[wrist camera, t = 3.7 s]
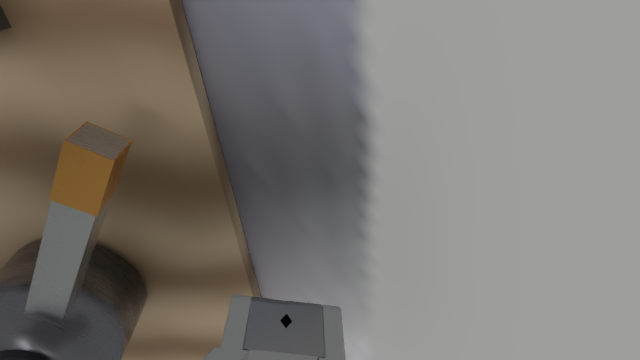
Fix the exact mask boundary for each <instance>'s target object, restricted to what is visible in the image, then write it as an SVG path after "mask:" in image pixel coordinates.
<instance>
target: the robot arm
mask: <svg viewBox="0 0 640 360" xmlns="http://www.w3.org/2000/svg"><path fill="white" fill-rule="evenodd" d="M250 301H251V303H250ZM249 308H250V309H249ZM248 314H249V315H248ZM202 360H345V349H344V338H343V327H342V317H341V309H340V307H337V306H329V305H321V304H313V303H304V302H294V301H281V300H274V299H267V298H260V297H254V296H252V297H251V296H245V295H238V294H233V295H232V298H231V301H230V306H229V310H228V315H227V319H226V324H225V329H224V333H223V338H222V342H221V347H214V348H213V349H212V350H211V351H210V352H209V353H208V354H207V355H206V356H205V357H204V358H203V359H202Z"/></svg>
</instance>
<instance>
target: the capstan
mask: <svg viewBox="0 0 640 360" xmlns="http://www.w3.org/2000/svg"><path fill="white" fill-rule="evenodd" d="M131 143H132V140H130V139H128V138H126V137H123V136H121V135H118V134H116V133H114V132H111V131H109V130H106V129H104V128H102V127H99V126H97V125H94V124H92V123H90V122H85V123H84V124H83V125H82V126H81V127H79V128H78V129H77V130H76V131H75V132H73V133H72V134H71V135H70V136H68V137H67V138H66V139H65V140H64V141H63V144H62V148H61V152H60V156H59V160H58V164H57V169H56V173H55V177H54V181H53V185H52V190H51V194H50V198H49V200H51V204H50V208H49V212H48V216H47V220H46V224H45V229H44V233H43V237H42V239H40V240H36V241H33V242H30V243H28V244H26V245H24V246H23V247H21V248H20V249H19V250H17V251H16V253H15V254H14V255H13V256H12V257H11V258H10V259H9V260H8V261H7V262H6V263H5V264H4V266H3V267H2V268H1V269H0V360H122V357H123V355H124V353H125V350H126V348H127V346H128V343H129V341H130V339H131V336H132V334H133V332H134V329H135V327H136V325H137V322H138V320H139V318H140V315H141V313H142V311H143V308H144V306H145V303H146V298H147V292H146V287H145V284H144V282H143V279H142V278H141V276H140V274H139V273H138V272H137V270H136V269H135V268H134V267H133V266H132V265H131V264H130V263H129V262H128V261H126V260H125V259H124V258H122V257H121V256H120V255H118V254H116V253H115V252H113V251H111V250H109V249H107V248H105V247H103V246H100V245H98V244H96V242H97V239H98V236H99V233H100V230H101V227H102V224H103V221H104V218H105V215H106V212H107V209H108V206H109V203H110V200H111V197H112V196H113V194H114V193H115V191H116V188H117V185H118V182H119V179H120V176H121V173H122V170H123V167H124V164H125V161H126V158H127V155H128V152H129V149H130V146H131Z"/></svg>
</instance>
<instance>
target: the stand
mask: <svg viewBox="0 0 640 360" xmlns="http://www.w3.org/2000/svg"><path fill="white" fill-rule="evenodd" d="M85 122H90V123H92V124H94V125H97V126H99V127H102V128H104V129H106V130H109V131H111V132H114V133H116V134H118V135H121V136H123V137H126V138H128V139H130V140H132V143H131V146H130V149H129V152H128V155H127V158H126V161H125V164H124V167H123V170H122V173H121V176H120V179H119V182H118V185H117V188H116V191H115V193H114V194H113V196H112V197H111V200H110V203H109V206H108V209H107V212H106V215H105V218H104V221H103V224H102V227H101V230H100V233H99V236H98V239H97V242H96V244H98V245H100V246H103V247H105V248H107V249H109V250H111V251H113V252H115V253H116V254H118V255H120V256H121V257H122V258H124V259H125V260H126V261H128V262H129V263H130V264H131V265H132V266H133V267H134V268H135V269H136V270H137V272H138V273H139V274H140V276H141V278H142V279H143V282H144V284H145V287H146V292H147V298H146V303H145V306H144V308H143V311H142V313H141V315H140V318H139V320H138V322H137V325H136V327H135V329H134V332H133V334H132V336H131V339H130V341H129V343H128V346H127V348H126V350H125V353H124V355H123V357H122V360H202V359H203V358H204V357H205V356H206V355H207V354H208V353H209V352H210V351H211V350H212V349H213V348H214V347H221V342H222V338H223V333H224V329H225V324H226V319H227V315H228V310H229V306H230V301H231V298H232V295H233V294H238V295H245V296H251V297H252V296H254V297H260V298H261V295H260V291H259V288H258V284H257V280H256V277H255V273H254V269H253V265H252V262H251V258H250V254H249V251H248V247H247V243H246V239H245V236H244V232H243V228H242V225H241V221H240V217H239V213H238V210H237V206H236V202H235V198H234V195H233V191H232V187H231V184H230V180H229V176H228V172H227V169H226V165H225V161H224V158H223V154H222V150H221V146H220V143H219V139H218V135H217V132H216V128H215V124H214V120H213V117H212V113H211V109H210V106H209V102H208V98H207V94H206V91H205V87H204V83H203V79H202V76H201V72H200V68H199V65H198V61H197V57H196V53H195V50H194V46H193V42H192V39H191V35H190V31H189V27H188V24H187V20H186V16H185V13H184V9H183V5H182V1H181V0H0V269H1V268H2V267H3V266H4V264H5V263H6V262H7V261H8V260H9V259H10V258H11V257H12V256H13V255H14V254H15V253H16V251H17V250H19V249H20V248H21V247H23V246H24V245H26V244H28V243H30V242H33V241H36V240H40V239H42V237H43V233H44V229H45V224H46V220H47V216H48V212H49V208H50V204H51V200H49V198H50V194H51V190H52V185H53V181H54V177H55V173H56V169H57V164H58V160H59V156H60V152H61V148H62V144H63V141H64V140H65V139H66V138H67V137H68V136H70V135H71V134H72V133H73V132H75V131H76V130H77V129H78V128H79V127H81V126H82V125H83V124H84V123H85ZM250 303H251V301H250ZM249 309H250V308H249ZM248 315H249V314H248Z"/></svg>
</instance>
